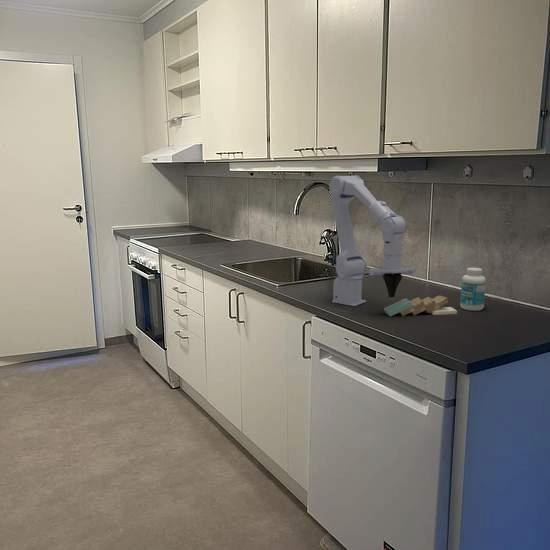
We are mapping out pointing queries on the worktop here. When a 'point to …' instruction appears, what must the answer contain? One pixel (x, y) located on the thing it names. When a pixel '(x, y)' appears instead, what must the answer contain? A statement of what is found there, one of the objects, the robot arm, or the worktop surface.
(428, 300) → the domino
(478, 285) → the pill bottle
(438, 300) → the domino
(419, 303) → the domino
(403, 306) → the domino
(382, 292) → the worktop surface
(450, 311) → the domino
